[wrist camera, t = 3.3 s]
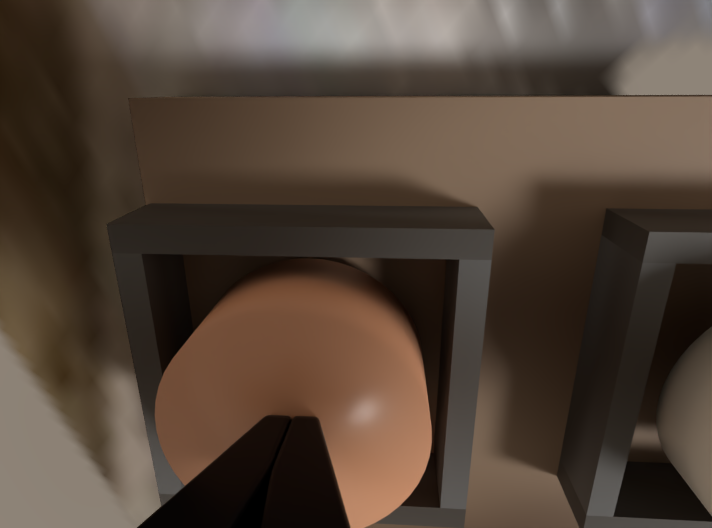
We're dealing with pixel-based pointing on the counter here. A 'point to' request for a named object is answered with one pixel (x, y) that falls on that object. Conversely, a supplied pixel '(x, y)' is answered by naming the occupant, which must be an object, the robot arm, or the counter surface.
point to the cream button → (689, 417)
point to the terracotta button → (306, 379)
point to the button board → (457, 274)
